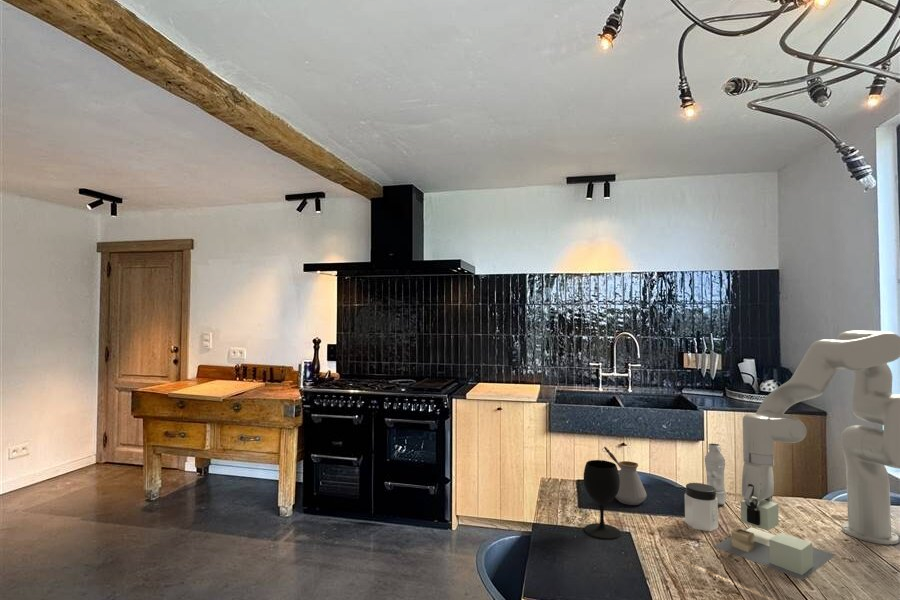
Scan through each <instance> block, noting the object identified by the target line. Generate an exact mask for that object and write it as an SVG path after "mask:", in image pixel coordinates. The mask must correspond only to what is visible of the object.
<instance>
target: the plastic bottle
mask: <svg viewBox="0 0 900 600" xmlns="http://www.w3.org/2000/svg"><path fill="white" fill-rule="evenodd" d="M721 451H722V448H721V444H718V443H708V452H707V453H706V454H705V456H704V465H705V471H706V473H705V474H706V485H710V486H712V487H714V488H715V490H716V498H717V499H718V506H720V505H725V503H727V498H728V497H727V493H726V488H725V486H726V485H725V469H726V459H725V457H724V455H723V454H722V453H721Z"/></svg>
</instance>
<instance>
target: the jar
mask: <svg viewBox="0 0 900 600" xmlns="http://www.w3.org/2000/svg"><path fill="white" fill-rule="evenodd" d="M718 506H719V505H718V499H717V498H716V490H715V488H714V487H712V486H710V485H707V483H702V482H701V483H700V482H689V483H686V484H685V493H684V523H685V524H686V525H688V526H689V527H691V528H692V529H694V530H700V531H706V532H712V531H716V530H717V529H719V511H718V509H719V507H718Z"/></svg>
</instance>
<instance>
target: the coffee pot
mask: <svg viewBox="0 0 900 600" xmlns="http://www.w3.org/2000/svg"><path fill="white" fill-rule="evenodd" d="M601 450H602V452H606V453H607V454H608V455H609V457H610V458H611V459H612V460H613V462H615V464H616V465H617V467H619V468H620V470H619V471H618V473H619V478H620V486H619V491H618V493H617V495H616V496H615V498H614V499H616V500H617V501H618V502H619V503H621V504H624V505H630V506H637V505H641V504H642V502H643V501H645V500H646V499H647V495H648V494H647V491H646V489H645V487H644V485H643V482H642V481H641V478H640V476H639V473H638V471H637V468H638V467H639V464H638V463H637V462H634V461H626V460H625V461H618V459H617V457H615V456H614V454H613V453H612V452H611V451H610V450H609V449H608V448H607V447H606V446H604V447H603V448H602V449H601Z"/></svg>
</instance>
